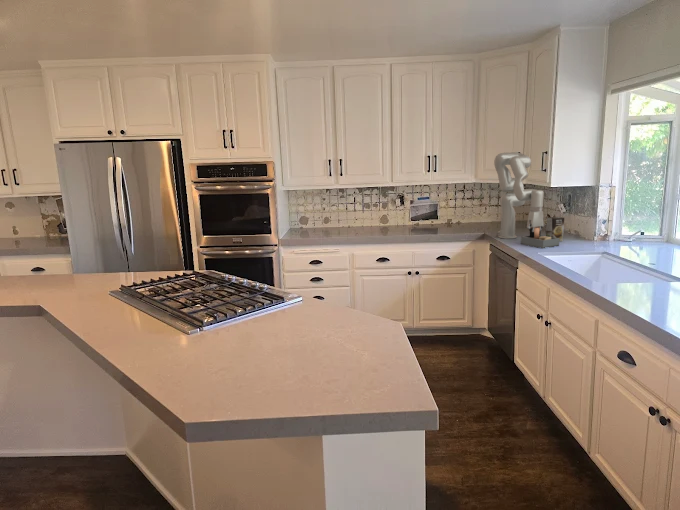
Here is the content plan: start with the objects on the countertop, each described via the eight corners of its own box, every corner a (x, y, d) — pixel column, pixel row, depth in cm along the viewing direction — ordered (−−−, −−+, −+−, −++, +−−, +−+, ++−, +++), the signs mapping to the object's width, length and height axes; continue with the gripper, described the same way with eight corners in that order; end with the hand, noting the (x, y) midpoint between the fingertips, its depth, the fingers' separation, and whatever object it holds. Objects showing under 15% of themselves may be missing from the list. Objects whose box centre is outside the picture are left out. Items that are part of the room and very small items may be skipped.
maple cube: (538, 244, 291) (539, 236, 290) (544, 243, 293) (545, 236, 292) (544, 245, 286) (545, 238, 285) (550, 244, 288) (551, 237, 287)
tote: (520, 244, 299) (521, 236, 297) (536, 241, 304) (536, 234, 303) (543, 248, 282) (543, 240, 281) (558, 246, 288) (559, 238, 287)
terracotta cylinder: (529, 238, 297) (529, 227, 296) (534, 237, 299) (535, 226, 298) (535, 239, 293) (535, 228, 291) (540, 238, 295) (541, 227, 293)
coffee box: (551, 242, 300) (553, 218, 296) (545, 240, 306) (546, 217, 303) (563, 241, 302) (565, 217, 299) (556, 239, 308) (557, 216, 305)
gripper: (541, 207, 299) (539, 234, 303) (522, 209, 292) (520, 237, 296) (550, 208, 292) (549, 236, 296) (531, 211, 285) (529, 239, 289)
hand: (534, 236), depth 296 cm, fingers closed on terracotta cylinder, 4 cm apart
